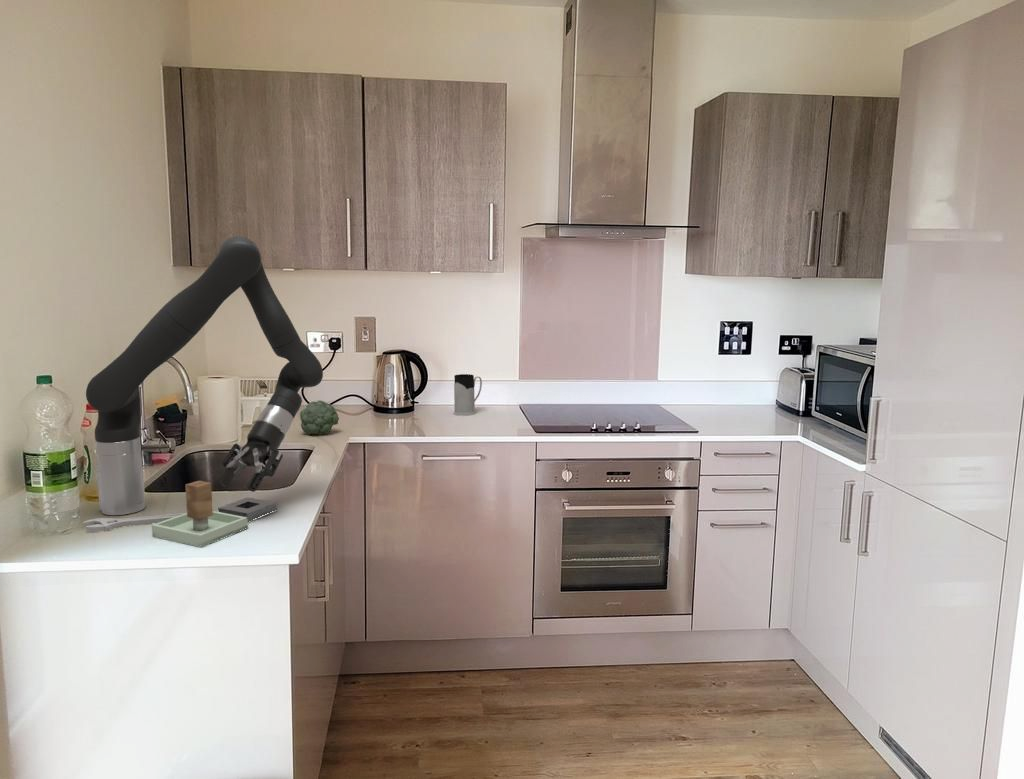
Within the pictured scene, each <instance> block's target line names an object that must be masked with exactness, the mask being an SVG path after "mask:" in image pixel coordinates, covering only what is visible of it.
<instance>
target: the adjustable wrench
mask: <svg viewBox="0 0 1024 779" xmlns="http://www.w3.org/2000/svg"><path fill="white" fill-rule="evenodd" d="M185 513H186V512H180V513H179V512H178V513H170V514H168V513H167V514H158V515H147V516H140V517H139V516H138V517H129V518H114V517H113V518H111V517H99V518H98V517H97V518H92V519H87V520H85V521H82V529H86V530H85V531H87V532H86V533H90V532H94V533H100V532H99V531H104V532H105V531H107V532H109V531H108V530H110V531H111V529H112V530H115V529H114V528H116V529H119V528H118V527H120V528H124V527H123V526H126V527H134V526H133V525H135V526H144V525H143V524H145V525H153V524H152V523H155V524H156V523H159V522H162V521H165V520H168V519H171V518H173V517H176V516H179V515H182V514H185ZM130 525H131V526H130ZM84 527H86V528H84Z"/></svg>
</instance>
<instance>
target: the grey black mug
mask: <svg viewBox="0 0 1024 779" xmlns="http://www.w3.org/2000/svg"><path fill="white" fill-rule="evenodd" d="M453 376H454V384H453V392H454V393H453V394H454V399H453V400H454V403H453V404H454V412H453V415H454V416H460V417H461V416H462V417H464V416H473V415H476V410H475V404H476V401H477V400H478V398H479V396H480V395H481V394H480V393H481V391H482V386H483V385H482V384H483V380H482V378H481V377H480V376H475V375H473V374H467V373H466V374H465V373H463V374H462V373H461V374H455V375H453ZM474 376H475V377H474ZM477 378H478V379H479V382H480V383H479V389H478V393H477V395H476V397H475V387H476V386H475V384H476V381H477V380H476V379H477Z"/></svg>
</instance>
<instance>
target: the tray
mask: <svg viewBox="0 0 1024 779" xmlns="http://www.w3.org/2000/svg"><path fill="white" fill-rule="evenodd" d="M184 513H185V514H182V515H179V516H176V517H173V518H171V519H168V520H165V521H162V522H159V523H155V524H151V535H152V537H154V538H158V539H164V540H166V539H167V541H171V540H172V541H171V542H175V541H176V542H175V543H180V542H181V543H180V544H184V543H185V545H188V544H189V545H190V546H193V547H197V546H198V548H203V546H204V547H205V546H208V545H210V543H211V544H213V543H216V542H218V541H220V540H219V539H221V538H223V539H225V538H224V537H226V536H228V537H230V536H229V535H231V534H233V533H236V532H238V531H240V530H243V529H245V528H248V529H249V523H248V520H247V517H242V516H237V515H232V514H227V513H222V512H219V511H217V510H213V515H212V516H209V517H208V529H206V530H203V531H194V530H193V518H189V517H187V512H184ZM243 531H244V530H243ZM238 533H239V532H238ZM236 534H237V533H236ZM233 535H234V534H233ZM231 536H232V535H231ZM226 538H227V537H226ZM217 540H218V541H217ZM221 540H222V539H221ZM215 541H216V542H215Z"/></svg>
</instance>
